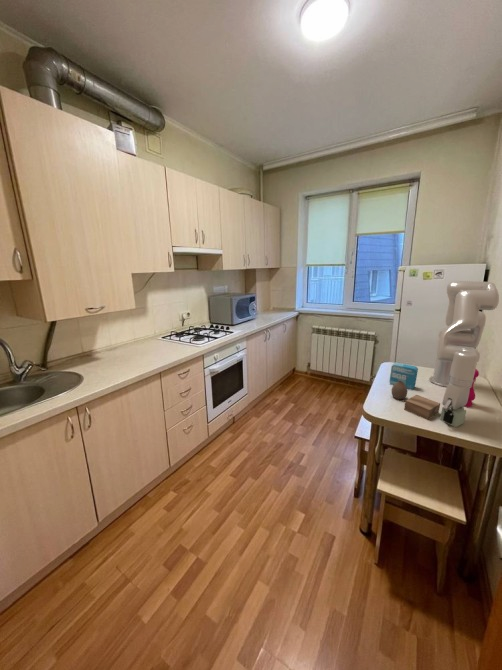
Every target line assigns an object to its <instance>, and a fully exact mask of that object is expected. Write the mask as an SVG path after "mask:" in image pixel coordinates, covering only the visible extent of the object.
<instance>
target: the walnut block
mask: <svg viewBox="0 0 502 670" xmlns="http://www.w3.org/2000/svg"><path fill="white" fill-rule="evenodd" d="M404 402H405V403H404V408H403V409H404V411H406V412H408V413H411V414H413V415H416V416H418V417H421V418H422V419H425V420H427V421H428V420H430V419H431V418H433V417H434V416H436V415H437V414H439V413H440V407H441V403H440V402H437V401H435V400H432V399H430V398H426V397H424V396H421V395H419V394H415V395H413V396H411V397H410V398H408V399H405V401H404Z"/></svg>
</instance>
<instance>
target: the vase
mask: <svg viewBox="0 0 502 670" xmlns="http://www.w3.org/2000/svg"><path fill="white" fill-rule="evenodd" d="M391 395H392V397H393V398H394V399H396V400H404V399H405V398H407V395H408V389H407V387H406V386H405V384H404V382H403V381H398V382H397V383H396V384H394V385H392V387H391Z"/></svg>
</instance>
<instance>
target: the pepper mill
mask: <svg viewBox="0 0 502 670" xmlns="http://www.w3.org/2000/svg"><path fill="white" fill-rule="evenodd" d="M479 375H480V372H479V370H478V369H477V368H476V369H475V374H474V378H473V383H472V387H471V388H470V391H469V397H468V401H467V404H466V405H465V406H464V407H466V408H467V407H469V408H470V407H472V406H473V401H474V400H475V399H476V393H475V390H474V384H475V383H476V382H477V381H476V380H477V378H478V377H479Z"/></svg>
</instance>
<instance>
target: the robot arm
mask: <svg viewBox="0 0 502 670" xmlns="http://www.w3.org/2000/svg"><path fill="white" fill-rule="evenodd" d="M446 294H447V297H448V307H447V312H446V316H445V324H446V326H447V327H445V328H442V329H440V331H439V333H438V342H437V350H436V360H435V365H434V368H433V369H434V370H433V376H430V377H429V379H428V380H429V382H431V383H432V384H434V385H436V386H439V387H440V386H441V387H445V388H446V389H445V392H444V395H443V398H442V403H441V404H442V405H443V406H442V407H443V409H444V418H443V421H442V422H444V421H445V422H444V423H446V422H447V423H446V424H448V423H450V424H452V422H453V417H454V415H453V413H454V411H455V409H458V408H461V409H464V410H465V408H464V407H466V406H465V405H466V404H467V401H468V397H469V391H470V388H471V387H472V383H473V378H474V374H475V369H477V365H478V362H479V360H480V357H481V355H480V351H478V349H477V347H478V346H479V344H480V342H481V340H482V335H483V332H484V329H485V326H486V323H487V322H486V321H487V317H486V314H485V312H483V311H493V310H495V309H497V308H498V306H499V301H500V294H499V291H498V289H497V286H496V284H495V283H494V282H492V281H471V280H469V281H468V280H467V281H466V280H456V281H455V280H454V281H450V282H448V284H447V285H446ZM450 405H451V406H453V408H452V407H450ZM449 408H450V409H452V411H450V410H449ZM450 424H449V425H450Z"/></svg>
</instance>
